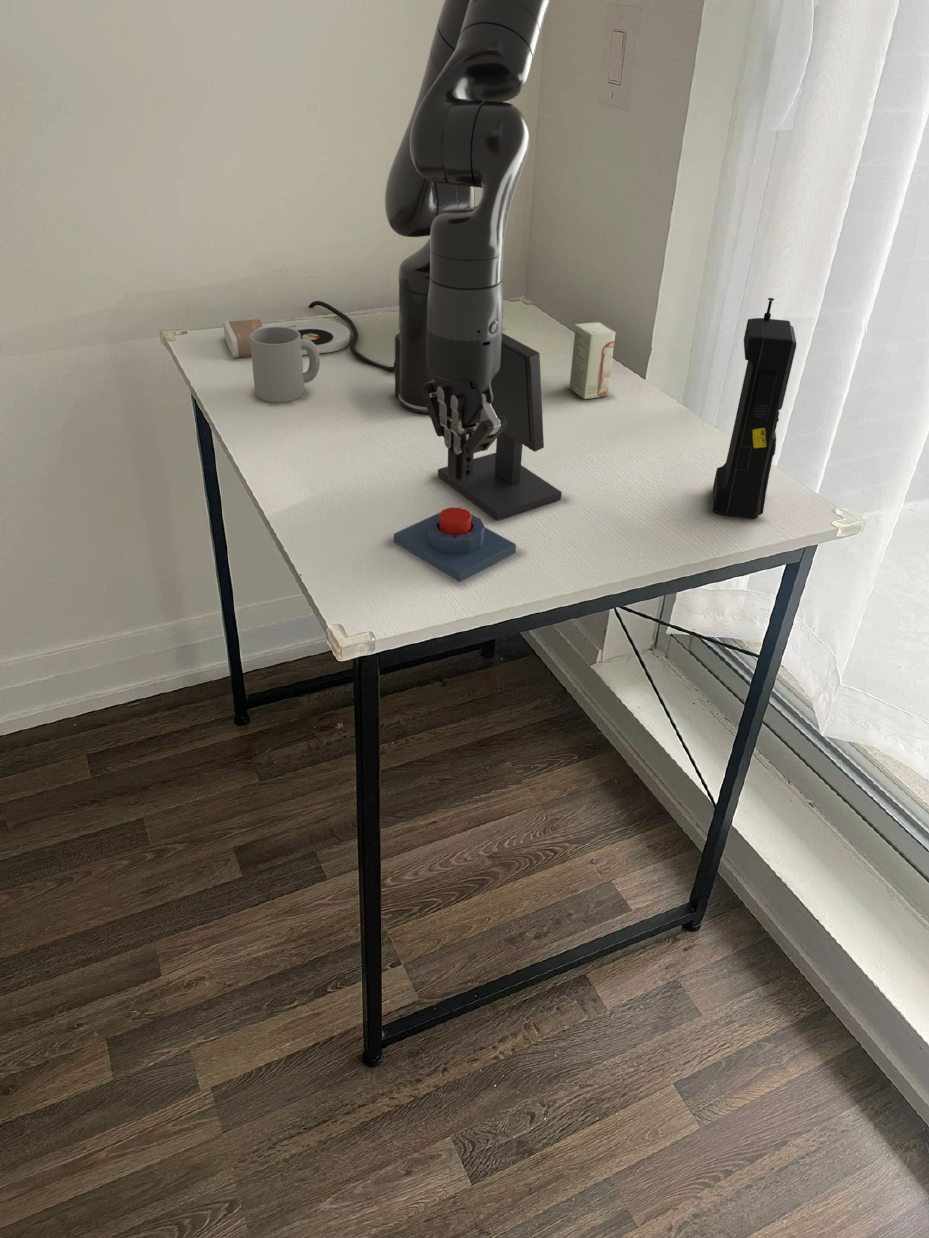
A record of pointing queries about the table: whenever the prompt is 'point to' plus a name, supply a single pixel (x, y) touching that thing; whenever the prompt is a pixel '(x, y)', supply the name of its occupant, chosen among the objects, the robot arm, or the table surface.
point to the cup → (281, 363)
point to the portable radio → (756, 418)
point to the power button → (455, 521)
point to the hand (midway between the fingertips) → (460, 479)
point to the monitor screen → (519, 393)
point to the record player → (317, 331)
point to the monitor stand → (503, 482)
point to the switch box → (455, 547)
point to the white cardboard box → (592, 360)
